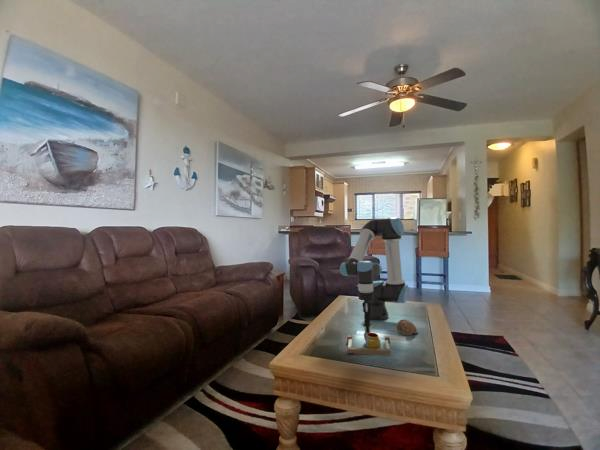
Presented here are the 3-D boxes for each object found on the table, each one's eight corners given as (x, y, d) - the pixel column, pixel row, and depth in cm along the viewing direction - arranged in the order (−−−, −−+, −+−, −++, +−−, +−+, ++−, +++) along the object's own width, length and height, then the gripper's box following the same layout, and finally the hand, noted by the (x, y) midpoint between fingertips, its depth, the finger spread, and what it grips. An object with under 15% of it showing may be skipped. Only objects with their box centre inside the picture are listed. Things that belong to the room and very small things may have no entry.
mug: (383, 350, 141) (382, 335, 141) (370, 352, 140) (369, 337, 140) (371, 341, 153) (371, 328, 153) (359, 343, 151) (358, 330, 152)
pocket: (347, 341, 154) (347, 335, 154) (389, 343, 150) (389, 336, 150) (345, 353, 139) (345, 346, 139) (392, 355, 135) (392, 348, 135)
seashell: (421, 335, 157) (410, 318, 158) (406, 344, 158) (395, 327, 159) (417, 328, 168) (406, 313, 169) (403, 337, 169) (392, 321, 170)
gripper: (358, 289, 160) (360, 333, 160) (358, 294, 148) (360, 342, 147) (373, 289, 159) (375, 334, 158) (373, 294, 146) (376, 343, 145)
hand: (367, 338), depth 153 cm, fingers closed
